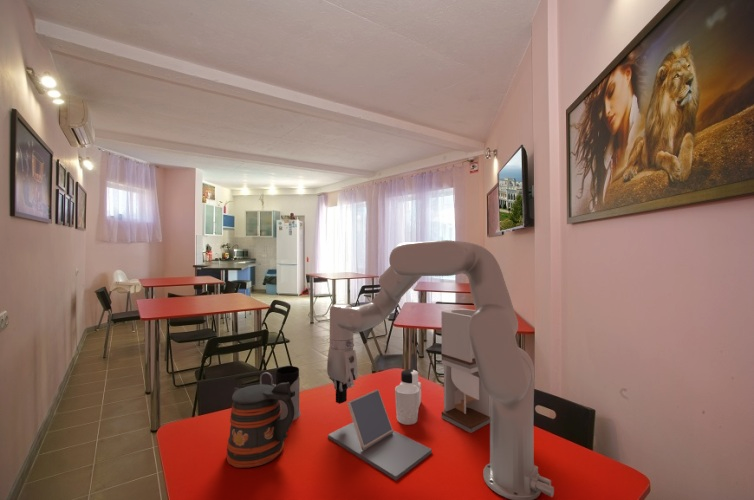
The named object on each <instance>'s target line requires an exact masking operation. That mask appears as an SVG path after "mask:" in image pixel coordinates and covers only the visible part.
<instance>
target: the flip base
mask: <svg viewBox="0 0 754 500" xmlns="http://www.w3.org/2000/svg"><path fill="white" fill-rule="evenodd" d="M327 438H328V439H329V440H330V441H332V442H333V443H335V444H337V445H339V447H342V448H344V449H345V450H346V451H348V452H349V453H351V454H353V455H355V456H356V457H357V458H359V459H361V460H362V461H363V462H365V463H367V464H369V465H370V466H372V467H373V468H375V469H376V470H379V472H381V473H383V474H385V475H386V476H388V477H389V478H391V479H393V480H394V481H398V480H399V479H400V478H401V477H403V476H404V475H405V474H406V473H408V472H409V471H410V470H413V469H414V467H416V466H417V465H419V464H420V463H421V462H423V460H425V459H426V458H427V457H429V456H430V455H431V454H432V453H433V449H432V448H430V447H429V446H428V447H427V446H426V445H424V444H423V443H420V442H419V441H417V440H416V441H415V440H414V439H412V438H410V437H408V436H406V435H404V434H402V433H400V432H398V431H395V430H394V429H393V433H391V434H390V435H388V436H386V437H385V438H383V439H381V440H380V441H378V442H376V443H375V444H373V445H371V446H370V447H368V448H366V449H365V450H362V449H361V445H360V442H359V439H358V436H357V433H356V430H355V426H354V423H353V421H352V422H350V423H348V424H347V425H344V426H342V427H341V428H338V429H336V430H334V431H333V432H330V433H329V434H328V435H327Z"/></svg>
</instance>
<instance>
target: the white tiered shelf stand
mask: <svg viewBox="0 0 754 500" xmlns="http://www.w3.org/2000/svg"><path fill="white" fill-rule="evenodd" d="M475 312H476V309H470V308H469V309H468V308H462V307H461V308H455V309H449V310H442V311H441V313H440V314H441V316H440V317H441V320H440V321H441V322H440V323H441V364H442V365H443V411H441V419H442V420H444V421H446V422H448V423H450V424H452V425H454V426H455V427H458V428H460V429H462V430H463V431H465V432H468V433H470V434H472V433H474V432H476V431H478V430H479V429H481V428H483V427H485V426H486V425H488V424H489V425H490V395H489V394H488V393H487V391H486V390H485V388H484V386H483V384H482V381H481V378H480V375H479V372H478V368H477V364H476V361H475V357H474V353H473V350H472V346H471V342H470V338H469V322H470V319H471V317H472V315H473V314H474V313H475Z"/></svg>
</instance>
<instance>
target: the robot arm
mask: <svg viewBox="0 0 754 500" xmlns="http://www.w3.org/2000/svg"><path fill="white" fill-rule="evenodd" d="M462 274H463V275H465V276H466V277H467V279H468V284H469V291H470V295H471V298H472V300H473V305H474V310H476V312H475V313H474V314H473V315H472V317H471V319H470V322H469V338H470V342H471V346H472V350H473V353H474V357H475V361H476V364H477V368H478V372H479V375H480V378H481V381H482V384H483V386H484V388H485V390H486V391H487V393H488V394H489V395H490V423H489V463H487V464H486V465H485V466H484V468H483V472H482V473H483V474H482V475H483V479H484V482H485V483H486V486H488V487H489V489H491V490H492V491H494V493H496V494H498V495H500V496H501V497H503V498H505V499H509V500H535V499H537V498H539V496H540V495H541V493H543V494H544V495H547V496H549V497H551V498H553V497H554V493H555V487H554V486H552V480H551V479H549V478H547V477H544V476H541V475H540V473H539V466H537V465H535V462H534V461H535V460H534V456H535V455H534V445H535V444H534V415H535V414H534V409H535V408H534V407H535V406H534V405H535V402H534V398H535V397H534V396H535V378H536V377H535V365H534V363H533V360H532V358H531V356H530V355H529V354H528V353H527V351H526V350H524V349H522V348H521V347H519V345H518V343H517V340H516V334H517V332H518V330H519V320H518V317H517V314H516V312H515V309H514V306H513V303H512V300H511V296H510V293H509V290H508V287H507V285H506V281H505V279H504V275H503V272H502V269H501V266H500V264H499V262H498V260H497V259H496V257H495V256H494V254H493V253H492V252H490V250H489V249H487V248H485V247H483V246H482V245H479V244H475V243H471V242H466V241H460V240H448V239H447V240H445V239H444V240H432V241H431V240H430V241H416V242H402V243H399V244H397V245H396V246H395V247H393V249H392V250H391V252H390V255H389V267H388V268H387V269H386V270H385V271H384V272H383V273H382V274H381V275H380V277H378V278H379V279H378V284H379V286H380V290H379V292H378V293H377V294H376V295H375V297H374V298H373V299H371V301H369V303H365V304H361V305H357V306H353V305H352V304H350V303H349V304H348V303H335V304H332V305H331V306H330V308H329V348H328V352H327V353H328V354H327V364H326V365H327V366H326V373H327V376H328V378H329V380H331V381H332V382H333V385H334V386H333V387H334V390H335V403H336V404H338V405H340V404H343V403H345V402H348V401H347V397H348V395H347V393H348V392H347V391H348V389H349V388H353V387H355V381H356V380H358V359H357V353H356V349H355V348H354V346H355V343H354V333H361V332H364V331H367V330H369V329H372V328H375V327H377V326H379V325H380V324H381V323H383V322H384V321H385V320H386V319H387V318H388V317H389V316H390V315H391V314H392V313H393V312H394V311H395V309H396V308H397V307H398V305H399V303H400V302H401V299H402V298H403V297H404V295H405V294H406V293H407V292H408V291H409V290H410V289H412V287H413V286H414V285H415V284H416V283H417V282H418V281H419V280H420V279H421V277H450V276H455V275H456V276H457V275H462Z"/></svg>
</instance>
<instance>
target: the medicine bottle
mask: <svg viewBox="0 0 754 500" xmlns="http://www.w3.org/2000/svg"><path fill="white" fill-rule="evenodd" d="M400 374H401V378H400V382H399V385H401V384H411V385H415V386H417V387H418V388H419V407H418V409H419V408H420V405H421V402H422V382H421V381H419V372H418V371H417V370H415V369H411V368H409V369H408V368H407V369H403V370H402V371H401V373H400Z"/></svg>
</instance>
